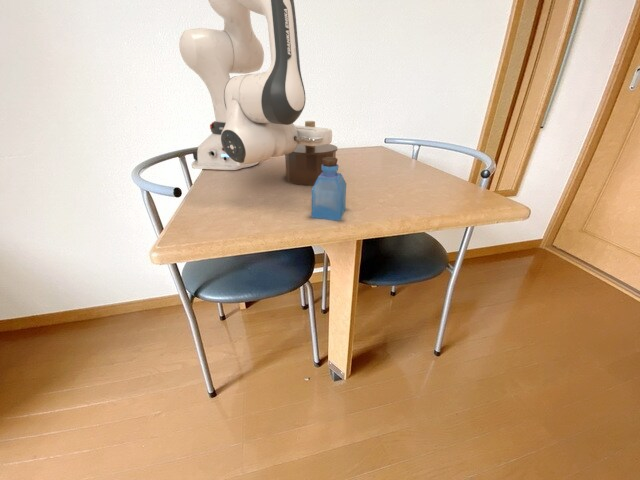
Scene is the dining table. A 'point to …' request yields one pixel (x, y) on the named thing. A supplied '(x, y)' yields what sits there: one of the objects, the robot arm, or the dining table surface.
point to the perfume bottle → (329, 192)
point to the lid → (314, 149)
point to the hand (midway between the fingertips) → (311, 130)
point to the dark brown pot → (304, 167)
